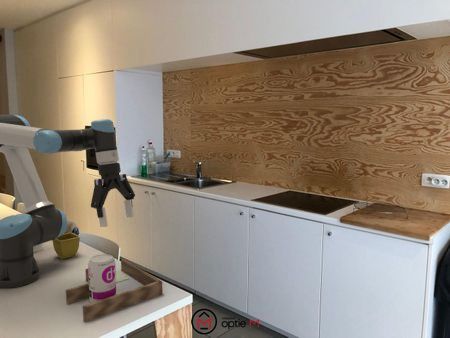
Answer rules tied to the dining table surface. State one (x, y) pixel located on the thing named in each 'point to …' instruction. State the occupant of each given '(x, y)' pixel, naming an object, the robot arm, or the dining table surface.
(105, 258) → the supplement can
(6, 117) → the robot arm
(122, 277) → the pad
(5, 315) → the dining table surface
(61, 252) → the flower pot
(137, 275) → the channel walls
